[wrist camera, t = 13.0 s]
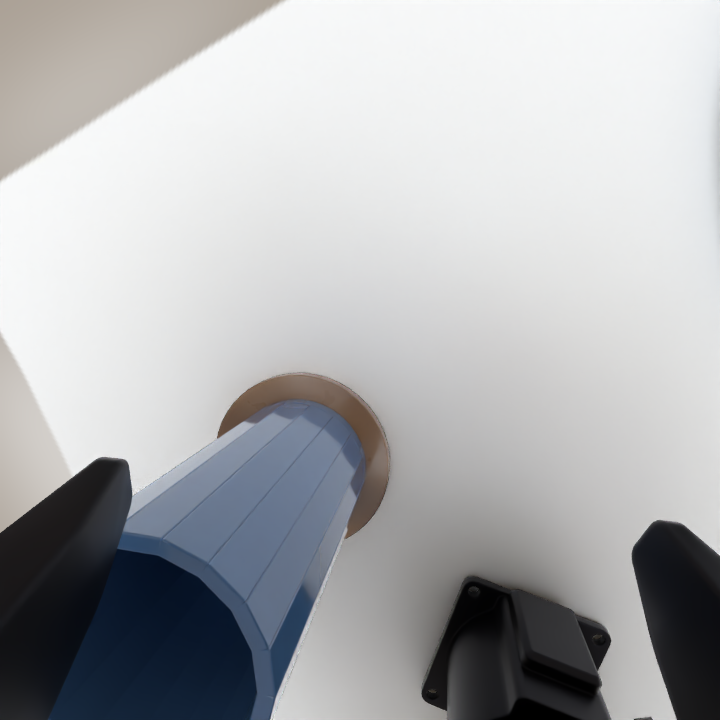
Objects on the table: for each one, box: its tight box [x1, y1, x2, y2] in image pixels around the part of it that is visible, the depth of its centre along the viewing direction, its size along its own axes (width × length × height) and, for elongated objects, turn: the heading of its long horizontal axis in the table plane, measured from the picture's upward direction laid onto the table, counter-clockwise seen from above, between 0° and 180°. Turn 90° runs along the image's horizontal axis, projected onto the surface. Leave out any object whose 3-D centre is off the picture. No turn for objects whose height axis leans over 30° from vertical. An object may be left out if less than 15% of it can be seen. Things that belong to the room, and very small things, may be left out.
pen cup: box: [48, 399, 366, 720], centre depth 17 cm, size 6×6×12 cm
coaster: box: [217, 373, 390, 539], centre depth 23 cm, size 8×8×1 cm
